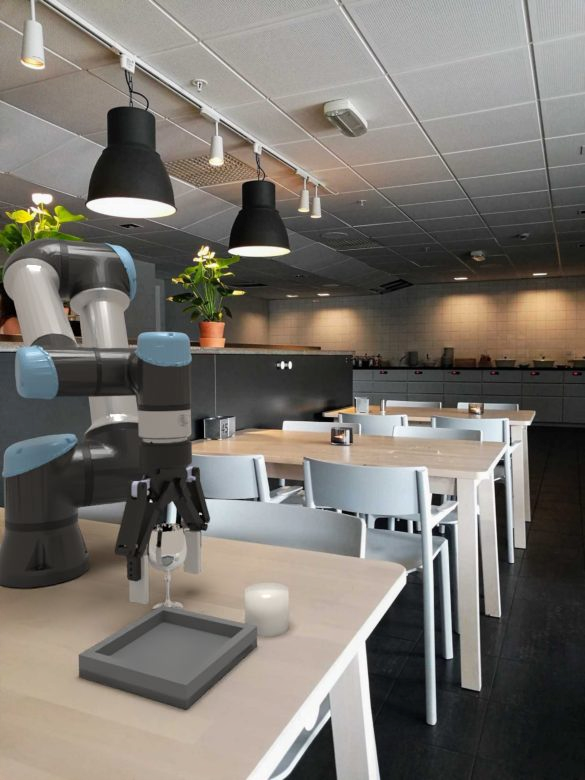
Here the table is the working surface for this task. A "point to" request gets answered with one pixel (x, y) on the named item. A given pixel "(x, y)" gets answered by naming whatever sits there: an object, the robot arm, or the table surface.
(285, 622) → the white pillar candle
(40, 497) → the robot arm
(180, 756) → the table surface
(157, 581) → the table surface
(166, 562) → the wineglass
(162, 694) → the tray
